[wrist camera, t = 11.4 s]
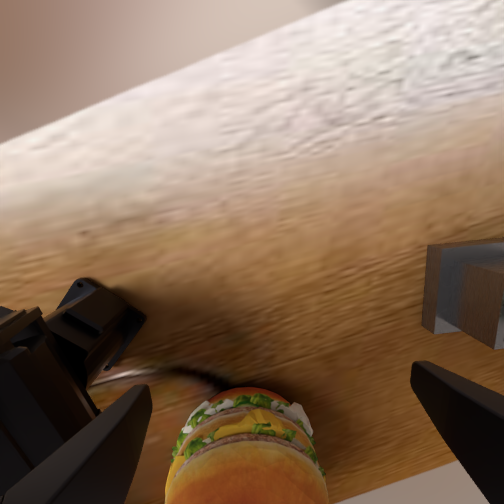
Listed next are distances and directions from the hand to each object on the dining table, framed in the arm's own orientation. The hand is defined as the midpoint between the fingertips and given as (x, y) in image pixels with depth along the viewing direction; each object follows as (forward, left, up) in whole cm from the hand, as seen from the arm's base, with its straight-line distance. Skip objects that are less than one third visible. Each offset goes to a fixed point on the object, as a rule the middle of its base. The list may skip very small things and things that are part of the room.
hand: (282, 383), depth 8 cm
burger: (-14, -10, -13) cm, 22 cm away
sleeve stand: (+11, -17, -13) cm, 24 cm away
